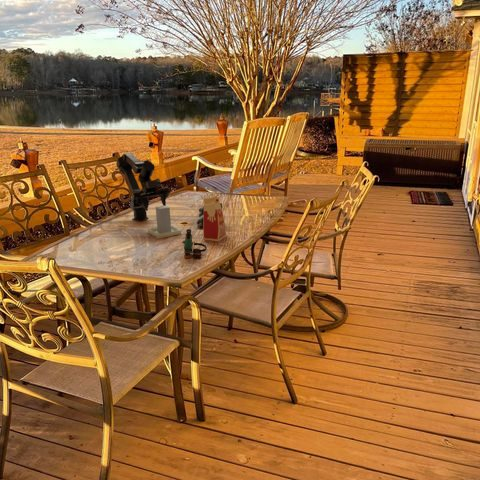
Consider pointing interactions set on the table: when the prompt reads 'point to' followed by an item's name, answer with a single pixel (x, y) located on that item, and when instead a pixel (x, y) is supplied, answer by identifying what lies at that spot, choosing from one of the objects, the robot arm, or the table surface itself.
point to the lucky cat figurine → (200, 220)
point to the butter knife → (172, 254)
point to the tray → (155, 233)
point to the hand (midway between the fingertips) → (156, 209)
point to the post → (163, 219)
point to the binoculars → (189, 244)
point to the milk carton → (213, 220)
